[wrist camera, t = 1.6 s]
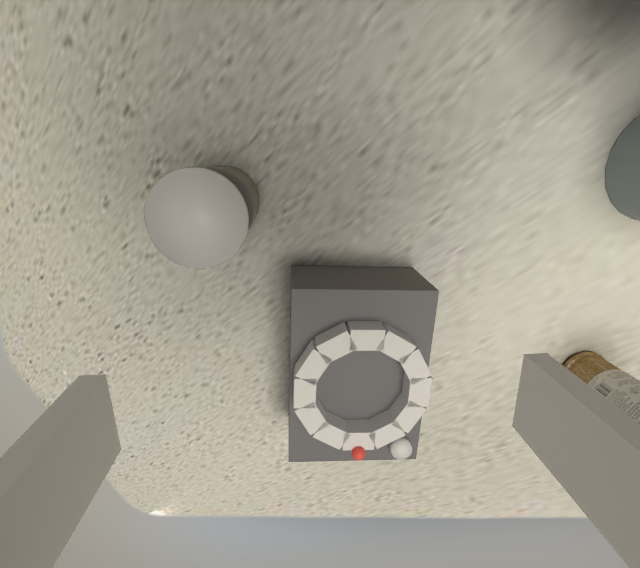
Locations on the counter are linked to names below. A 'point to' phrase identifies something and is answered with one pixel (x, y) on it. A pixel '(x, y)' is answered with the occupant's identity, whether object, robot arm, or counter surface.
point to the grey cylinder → (201, 214)
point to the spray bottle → (625, 171)
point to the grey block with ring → (358, 362)
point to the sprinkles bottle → (608, 381)
